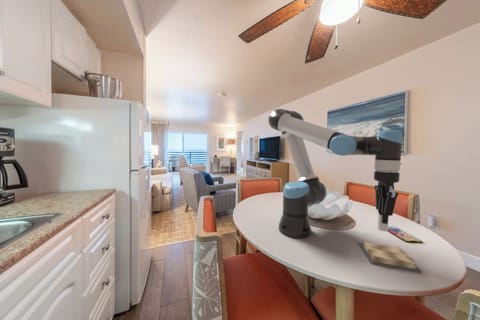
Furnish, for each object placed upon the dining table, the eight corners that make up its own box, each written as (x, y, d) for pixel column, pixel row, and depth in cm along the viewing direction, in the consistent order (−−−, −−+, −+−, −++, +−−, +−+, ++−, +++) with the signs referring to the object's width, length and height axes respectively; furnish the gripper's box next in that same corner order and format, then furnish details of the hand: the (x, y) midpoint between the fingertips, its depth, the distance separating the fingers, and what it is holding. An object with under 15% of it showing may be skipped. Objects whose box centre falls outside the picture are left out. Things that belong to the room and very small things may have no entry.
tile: (363, 246, 72) (373, 261, 62) (363, 242, 72) (374, 256, 62) (399, 252, 68) (416, 269, 59) (399, 247, 68) (416, 263, 59)
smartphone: (395, 226, 91) (424, 241, 76) (395, 228, 91) (423, 244, 76) (380, 226, 92) (406, 241, 77) (380, 227, 92) (406, 243, 77)
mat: (371, 263, 62) (371, 262, 62) (357, 243, 76) (357, 241, 76) (421, 272, 58) (421, 270, 58) (397, 249, 72) (397, 247, 72)
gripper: (409, 173, 61) (403, 240, 62) (389, 169, 73) (385, 224, 75) (383, 172, 63) (378, 236, 65) (368, 168, 75) (365, 222, 77)
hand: (382, 230), depth 70 cm, fingers closed
